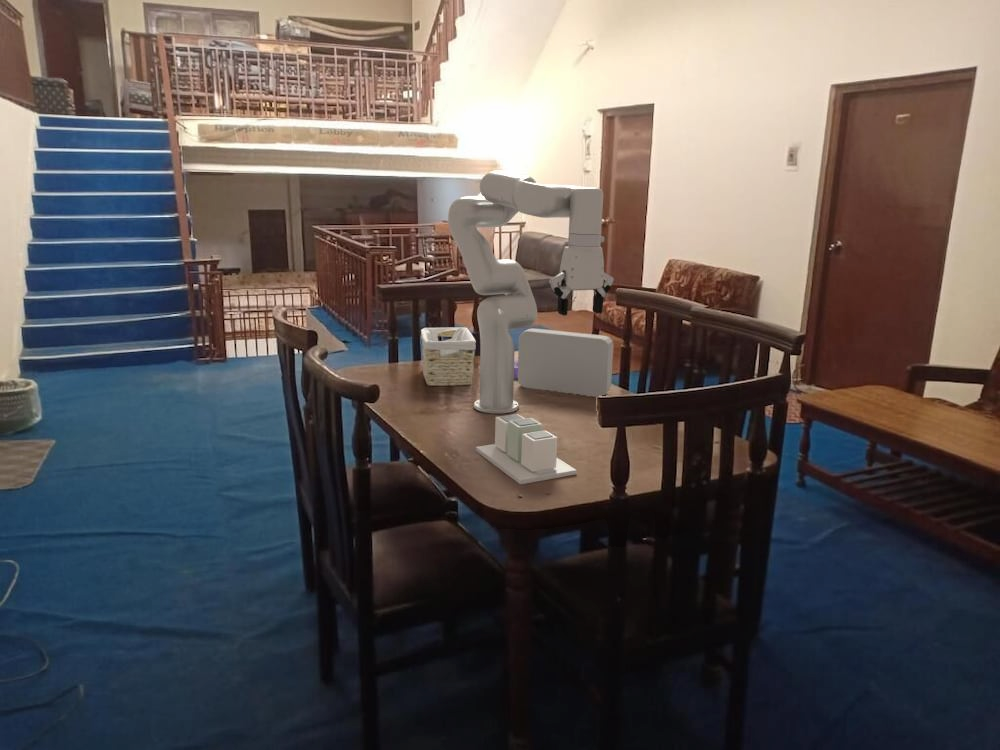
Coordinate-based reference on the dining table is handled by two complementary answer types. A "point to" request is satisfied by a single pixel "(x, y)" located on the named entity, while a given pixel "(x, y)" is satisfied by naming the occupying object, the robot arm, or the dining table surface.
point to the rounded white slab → (565, 362)
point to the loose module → (520, 435)
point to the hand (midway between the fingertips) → (580, 313)
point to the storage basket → (448, 356)
